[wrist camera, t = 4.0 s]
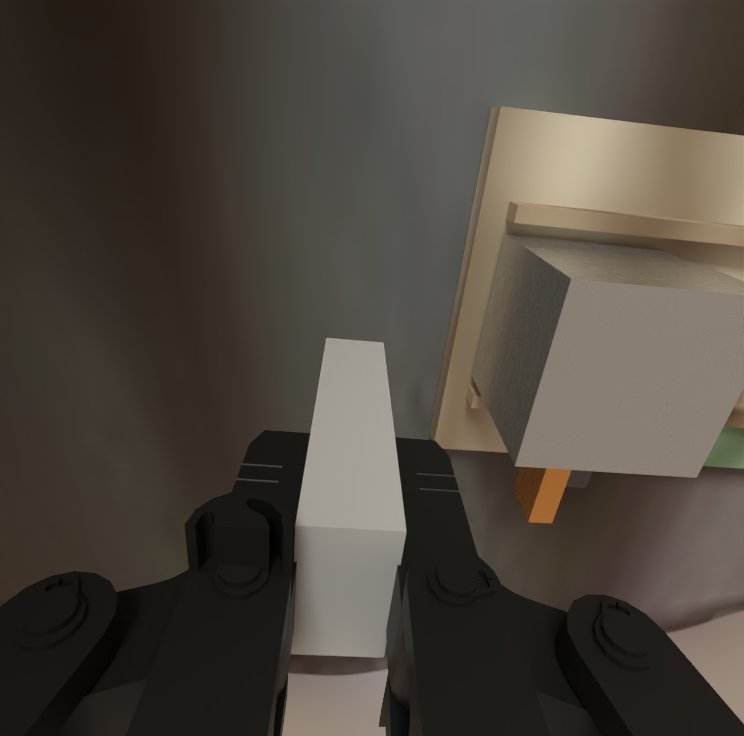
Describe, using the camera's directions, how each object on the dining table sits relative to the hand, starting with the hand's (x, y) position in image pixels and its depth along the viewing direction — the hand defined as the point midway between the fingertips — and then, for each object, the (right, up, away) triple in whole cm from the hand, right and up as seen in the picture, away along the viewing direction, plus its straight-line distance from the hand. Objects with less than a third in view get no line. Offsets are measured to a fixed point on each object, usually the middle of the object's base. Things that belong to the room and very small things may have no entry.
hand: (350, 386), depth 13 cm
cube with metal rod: (+10, 0, +7) cm, 13 cm away
